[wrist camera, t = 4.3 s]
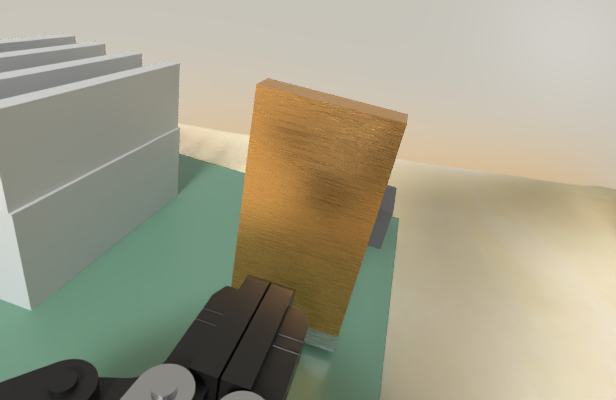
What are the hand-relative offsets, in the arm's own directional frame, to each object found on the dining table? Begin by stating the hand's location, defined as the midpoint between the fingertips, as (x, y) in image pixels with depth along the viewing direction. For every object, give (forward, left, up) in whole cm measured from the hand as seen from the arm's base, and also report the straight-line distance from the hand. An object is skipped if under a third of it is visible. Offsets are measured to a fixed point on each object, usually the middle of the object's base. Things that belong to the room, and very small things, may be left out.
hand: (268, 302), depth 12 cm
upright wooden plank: (-6, -4, -6) cm, 9 cm away
